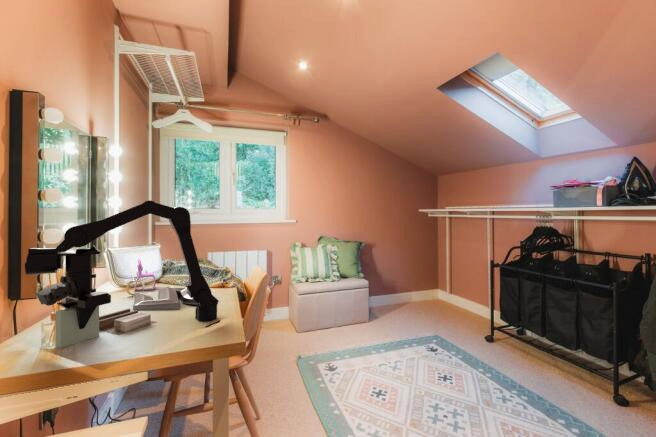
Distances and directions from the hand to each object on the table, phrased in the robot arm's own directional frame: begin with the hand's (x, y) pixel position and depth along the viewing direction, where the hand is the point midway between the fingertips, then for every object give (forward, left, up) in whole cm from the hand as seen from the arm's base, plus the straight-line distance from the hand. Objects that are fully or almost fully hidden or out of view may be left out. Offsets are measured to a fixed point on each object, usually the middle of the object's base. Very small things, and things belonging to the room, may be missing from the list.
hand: (78, 327), depth 82 cm
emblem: (+13, -38, -6) cm, 40 cm away
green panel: (0, 0, -4) cm, 4 cm away
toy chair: (+46, -51, -5) cm, 69 cm away
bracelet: (+38, -41, -5) cm, 56 cm away
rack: (+2, -13, -5) cm, 14 cm away
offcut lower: (-3, -13, -4) cm, 14 cm away
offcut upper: (-3, -13, -2) cm, 13 cm away
